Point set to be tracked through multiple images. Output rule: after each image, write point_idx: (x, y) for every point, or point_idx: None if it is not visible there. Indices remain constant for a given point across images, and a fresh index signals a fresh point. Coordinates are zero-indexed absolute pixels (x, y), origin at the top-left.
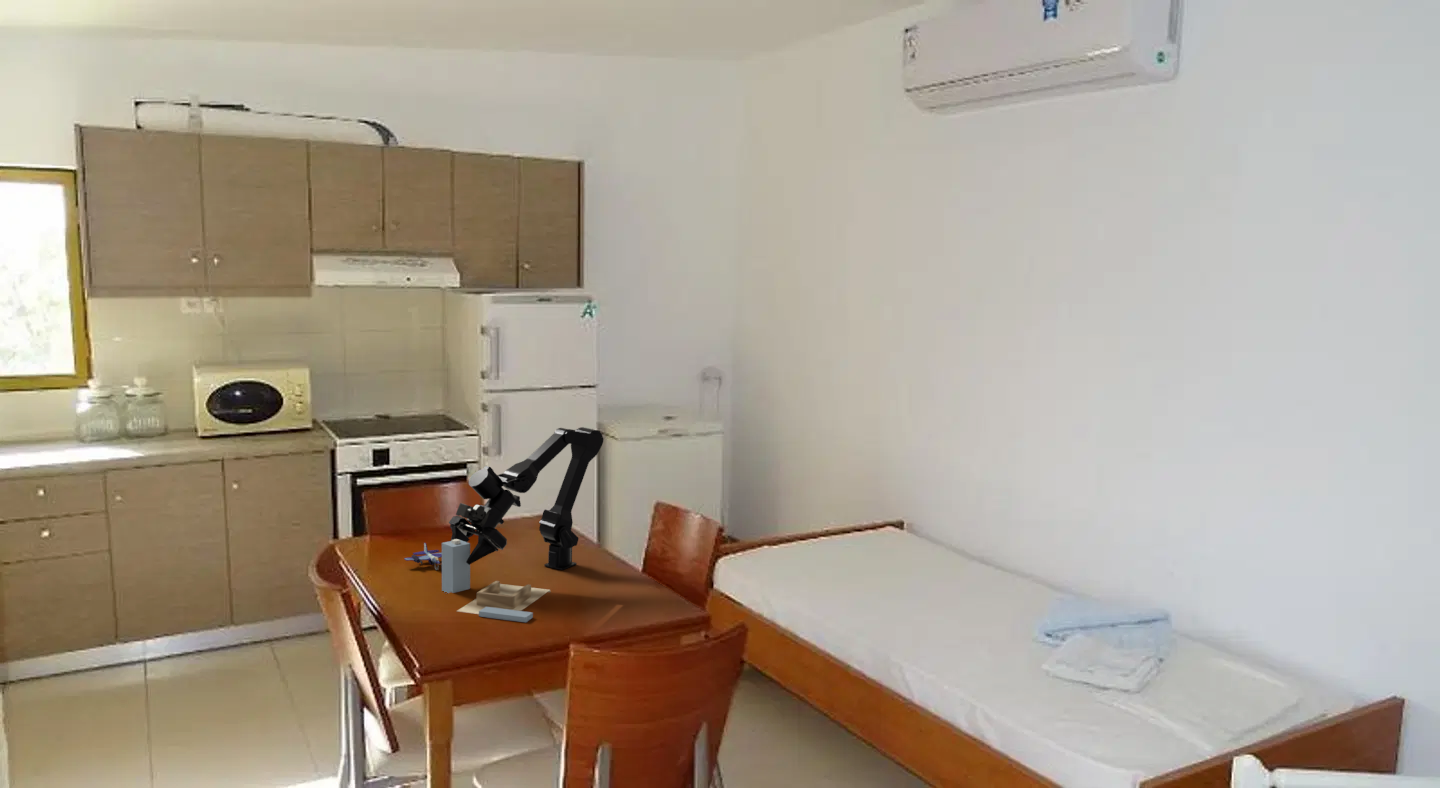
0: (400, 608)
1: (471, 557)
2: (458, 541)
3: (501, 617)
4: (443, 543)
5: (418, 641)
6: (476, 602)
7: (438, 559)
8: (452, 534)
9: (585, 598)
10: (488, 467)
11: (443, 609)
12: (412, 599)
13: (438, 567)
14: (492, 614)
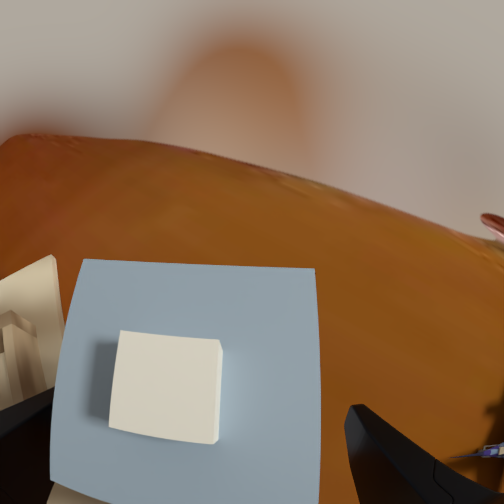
0: (213, 188)
1: (35, 399)
2: (115, 392)
3: None
4: (277, 269)
5: (51, 147)
6: (47, 342)
7: (501, 454)
8: (490, 493)
9: None
10: None
11: (107, 259)
12: (259, 245)
13: (485, 456)
14: None
